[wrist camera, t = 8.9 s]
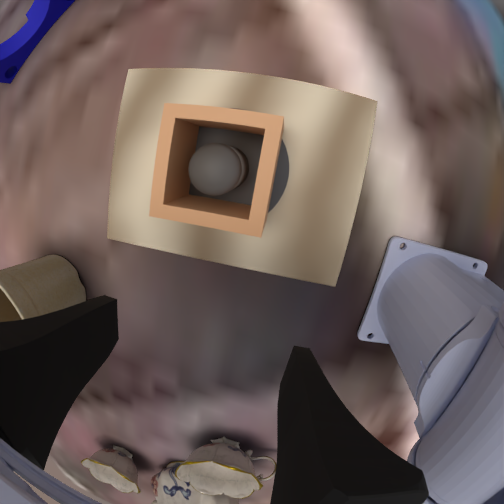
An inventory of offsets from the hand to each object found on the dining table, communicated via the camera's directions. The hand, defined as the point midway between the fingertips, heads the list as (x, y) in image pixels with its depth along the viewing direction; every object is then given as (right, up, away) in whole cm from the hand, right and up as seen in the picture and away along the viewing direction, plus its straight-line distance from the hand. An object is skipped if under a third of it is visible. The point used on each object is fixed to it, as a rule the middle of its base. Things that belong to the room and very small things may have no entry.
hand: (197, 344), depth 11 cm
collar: (+1, +9, +6) cm, 10 cm away
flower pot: (-15, +1, +12) cm, 19 cm away
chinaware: (-7, -24, +19) cm, 31 cm away
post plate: (+1, +9, +7) cm, 11 cm away
